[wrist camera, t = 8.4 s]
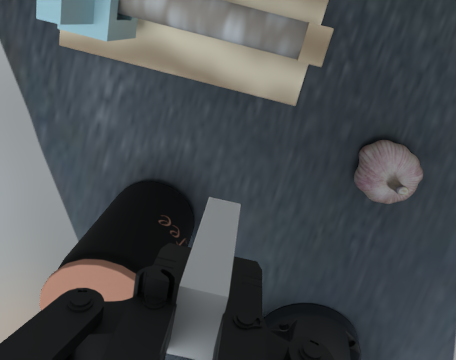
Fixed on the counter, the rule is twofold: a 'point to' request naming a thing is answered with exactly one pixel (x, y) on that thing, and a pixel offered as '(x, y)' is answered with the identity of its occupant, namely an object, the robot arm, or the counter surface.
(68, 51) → the counter surface
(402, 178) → the garlic bulb
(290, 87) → the pipe stand
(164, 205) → the coffee jar
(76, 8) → the collar
